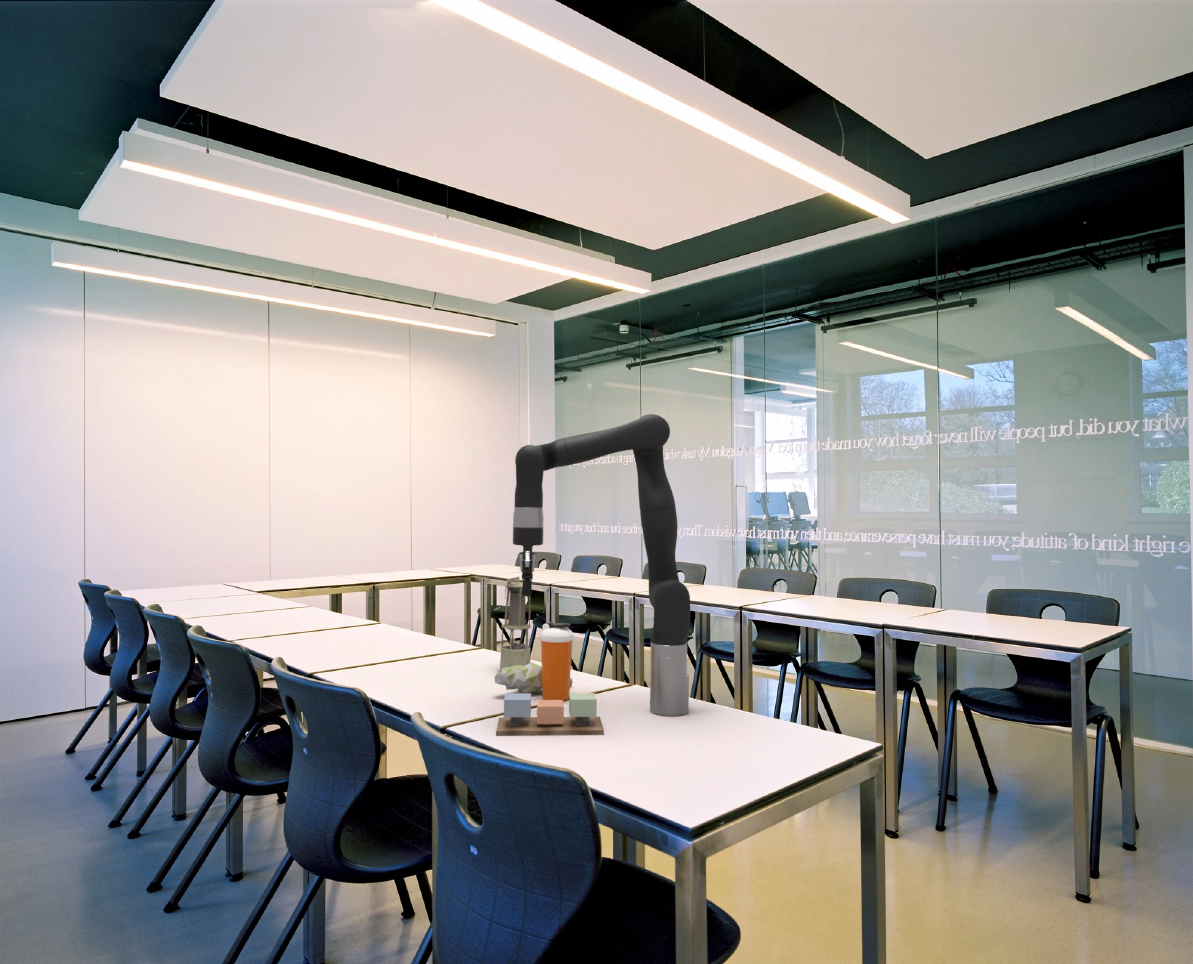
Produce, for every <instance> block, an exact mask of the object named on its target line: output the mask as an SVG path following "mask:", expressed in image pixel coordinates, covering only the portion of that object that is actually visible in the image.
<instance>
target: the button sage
mask: <svg viewBox="0 0 1193 964" xmlns="http://www.w3.org/2000/svg"><path fill="white" fill-rule="evenodd" d="M568 700H569V701H568V703H569V704H568V712H569V717H598V716H597V712H598V711H597V708H598V706H597V704H598V703H597V702H598V701H597V700H598V699H597V696H596V693H594V692H584V693H583V692H579V693H578V692H577V693H576V692H569V699H568Z"/></svg>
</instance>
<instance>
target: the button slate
mask: <svg viewBox="0 0 1193 964" xmlns="http://www.w3.org/2000/svg"><path fill="white" fill-rule="evenodd" d="M503 699H504V700H503V717H532V716H531V712H532V709H531V707H532V694H531V693H519V692H517V693H510V692H509V693H504V698H503Z"/></svg>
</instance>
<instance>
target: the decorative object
mask: <svg viewBox="0 0 1193 964" xmlns="http://www.w3.org/2000/svg"><path fill="white" fill-rule="evenodd" d="M499 670H500V669H499ZM499 670H498V671H499ZM494 683H495V684H497V685H499V686H505V689H506V690H507V691H508V690H510V691H511V690H517V691H518V692H517V693H531V695H532V694H534V693H536V692H538V691H541V690H542V665H539V664H537V663H534V662H531V661H530V663H529V664H527V665H525V666H521V665H516V666H511V667H506V668H502V669H501V670H500V671H499V673H498V672H497V673H496V674H495V675H494ZM572 686H573V678H572V677H570V687H572Z"/></svg>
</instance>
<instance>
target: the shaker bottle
mask: <svg viewBox="0 0 1193 964" xmlns="http://www.w3.org/2000/svg"><path fill="white" fill-rule="evenodd" d="M570 626H571V624H570V623H567V622H559V623H555V622H553V621H550V622H546V623H544V624H543V625H542V628H541V629H542V631H541V632H540V637H539V638H540V639H539V640H540V646H541V647H540V648H541V649H540V650H541V651H540V652H541V653H540V654H541V666H542V689H541V690H542V700H563V702H564V701H568V700H569V693H570V689H571V688H570V678H571V669H572V668H571V667H572V655H573V654H572V653H573V652H572V651H573V642H574V633H573V631H572V630H571V629H570V628H569V627H570Z"/></svg>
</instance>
